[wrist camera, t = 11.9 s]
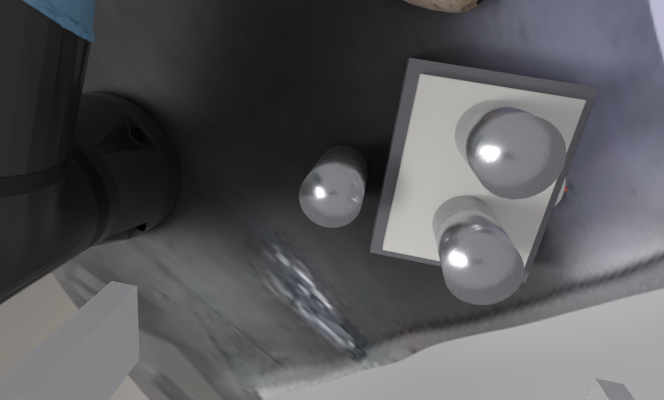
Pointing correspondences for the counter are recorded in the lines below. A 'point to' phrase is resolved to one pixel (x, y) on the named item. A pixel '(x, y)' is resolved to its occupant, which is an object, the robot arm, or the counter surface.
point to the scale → (449, 165)
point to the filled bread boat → (447, 5)
